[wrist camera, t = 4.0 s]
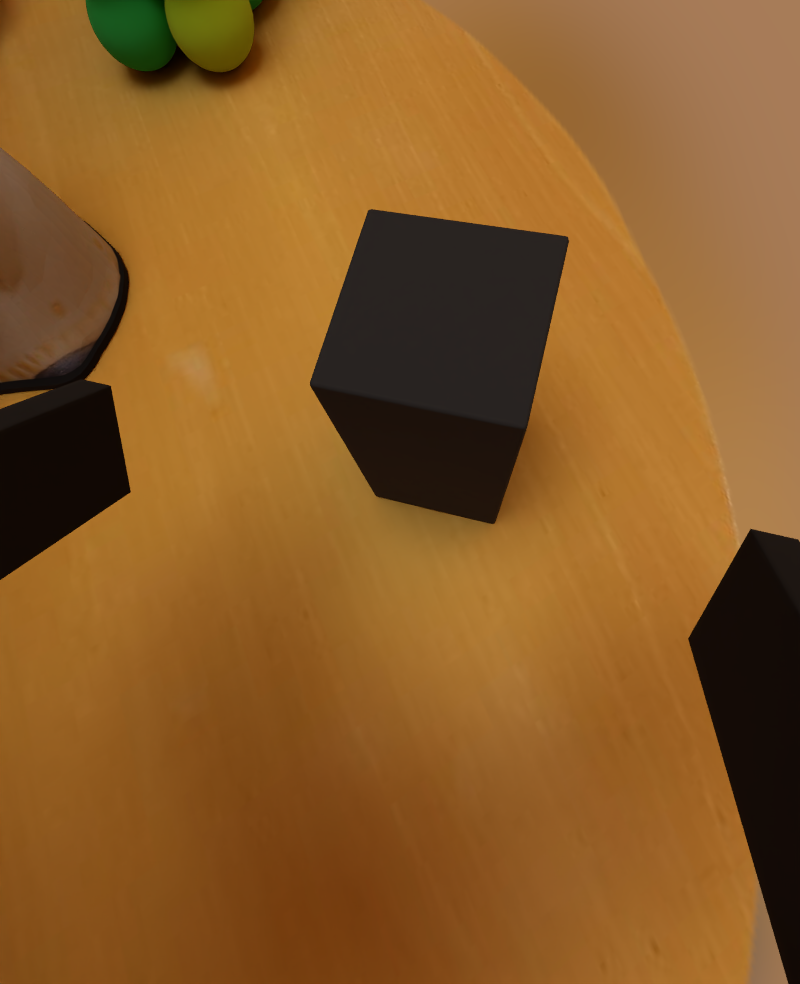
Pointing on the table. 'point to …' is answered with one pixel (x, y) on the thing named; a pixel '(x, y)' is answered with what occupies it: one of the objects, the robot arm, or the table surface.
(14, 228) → the figurine
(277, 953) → the table surface
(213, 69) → the molecule model
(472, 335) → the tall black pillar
